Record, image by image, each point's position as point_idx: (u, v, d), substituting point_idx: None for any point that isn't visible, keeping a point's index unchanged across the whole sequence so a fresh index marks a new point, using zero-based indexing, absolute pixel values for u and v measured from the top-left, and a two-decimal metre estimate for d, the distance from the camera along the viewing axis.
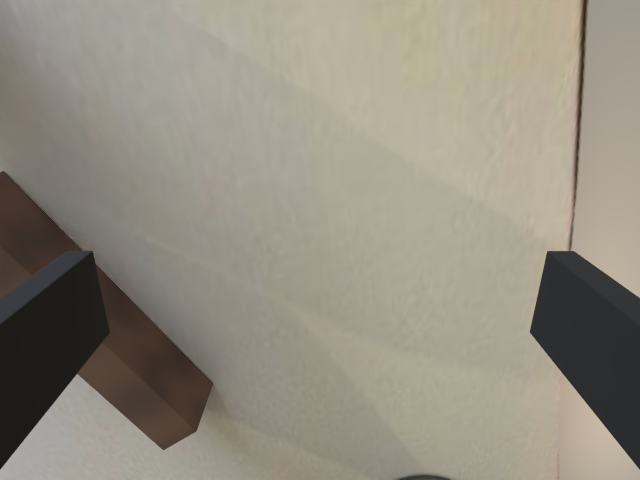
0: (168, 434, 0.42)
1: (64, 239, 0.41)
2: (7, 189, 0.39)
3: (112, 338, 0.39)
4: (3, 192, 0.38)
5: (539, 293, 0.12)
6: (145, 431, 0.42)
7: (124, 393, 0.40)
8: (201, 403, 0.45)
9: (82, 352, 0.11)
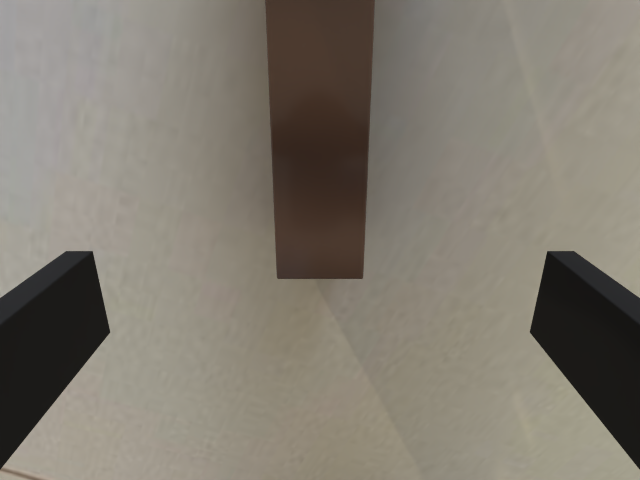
0: (313, 255, 0.22)
1: None
2: None
3: None
4: None
5: (539, 294, 0.13)
6: (280, 226, 0.21)
7: (314, 131, 0.19)
8: None
9: (82, 352, 0.11)
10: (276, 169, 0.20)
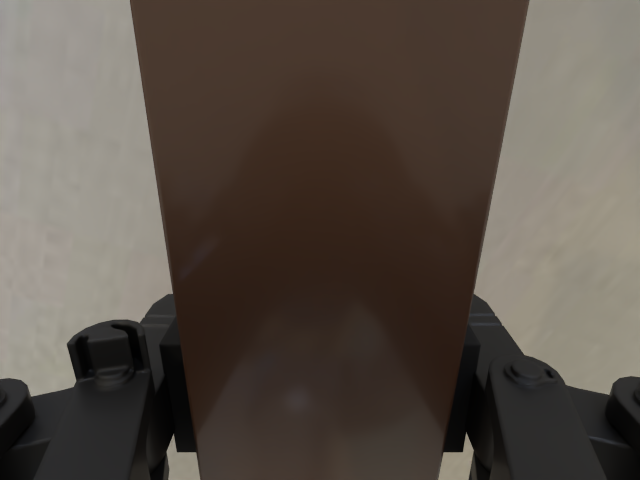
0: None
1: None
2: None
3: None
4: None
5: None
6: (214, 476, 0.08)
7: (306, 255, 0.06)
8: None
9: None
10: (192, 353, 0.07)
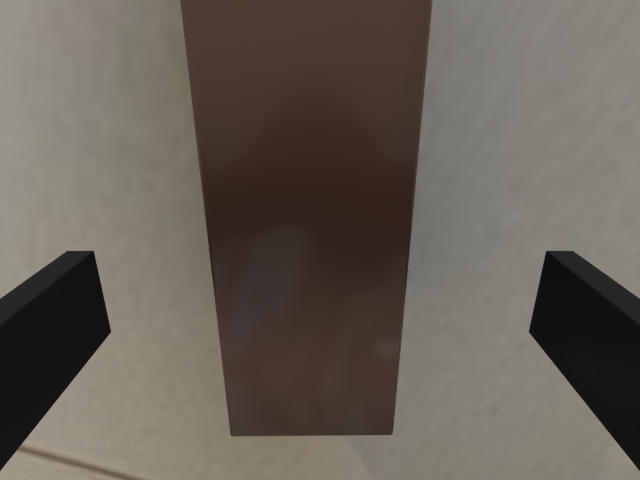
0: (298, 399, 0.11)
1: None
2: None
3: None
4: None
5: (538, 293, 0.13)
6: (232, 351, 0.11)
7: (296, 168, 0.09)
8: None
9: (83, 351, 0.11)
10: (216, 246, 0.09)
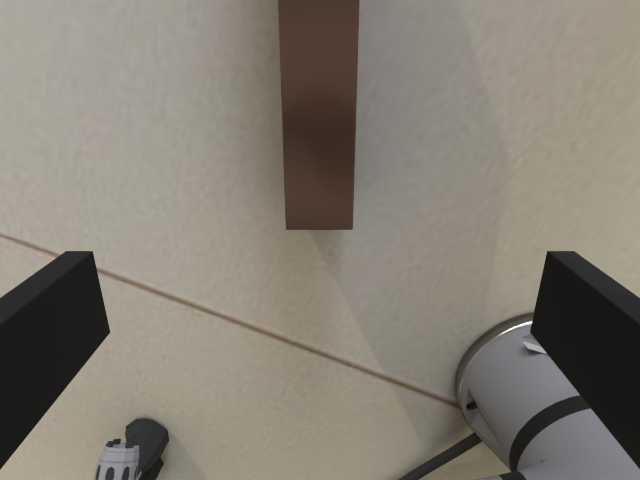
0: (314, 210, 0.28)
1: None
2: None
3: None
4: None
5: (539, 294, 0.12)
6: (289, 188, 0.27)
7: (315, 113, 0.26)
8: None
9: (82, 352, 0.11)
10: (286, 143, 0.26)
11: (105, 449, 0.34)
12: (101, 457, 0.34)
